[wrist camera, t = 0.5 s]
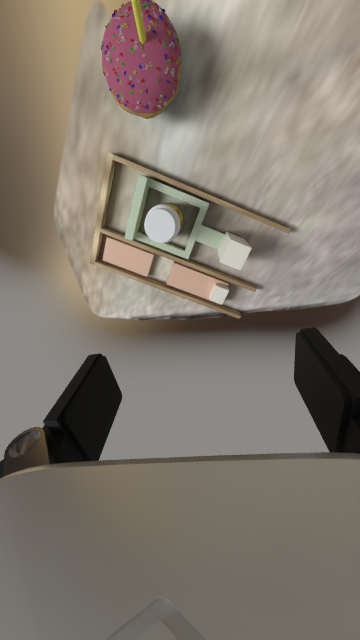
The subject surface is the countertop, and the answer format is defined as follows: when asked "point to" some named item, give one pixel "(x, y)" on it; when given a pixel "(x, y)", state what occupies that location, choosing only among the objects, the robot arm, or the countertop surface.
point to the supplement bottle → (163, 222)
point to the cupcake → (141, 58)
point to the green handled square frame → (228, 244)
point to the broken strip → (179, 274)
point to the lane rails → (102, 230)
